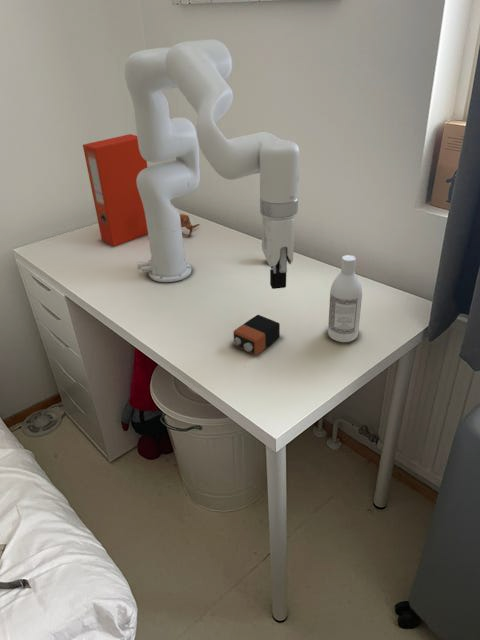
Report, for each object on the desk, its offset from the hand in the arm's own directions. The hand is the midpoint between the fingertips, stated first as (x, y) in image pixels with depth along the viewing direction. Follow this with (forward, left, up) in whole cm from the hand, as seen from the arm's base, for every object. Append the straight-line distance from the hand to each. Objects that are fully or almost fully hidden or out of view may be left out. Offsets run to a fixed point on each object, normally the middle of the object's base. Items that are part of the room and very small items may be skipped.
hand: (278, 286), depth 110 cm
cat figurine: (-19, +68, -14) cm, 72 cm away
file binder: (-37, +73, -14) cm, 83 cm away
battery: (-1, +3, -12) cm, 13 cm away
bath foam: (+15, -1, -14) cm, 21 cm away
